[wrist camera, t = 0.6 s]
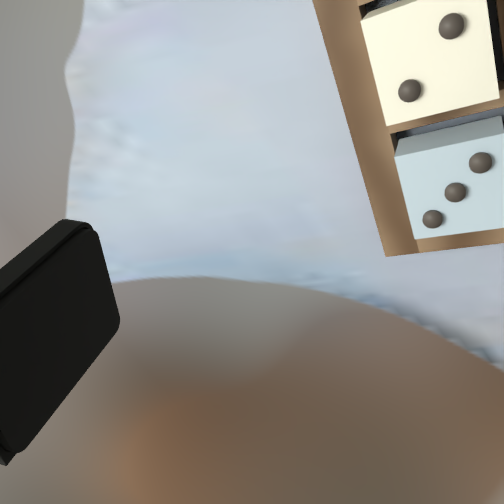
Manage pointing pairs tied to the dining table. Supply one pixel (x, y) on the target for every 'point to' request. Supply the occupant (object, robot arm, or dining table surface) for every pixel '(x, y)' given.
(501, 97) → the wooden compartment tray
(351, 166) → the dining table surface
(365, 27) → the cream drawer
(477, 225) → the pale blue drawer
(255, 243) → the dining table surface
